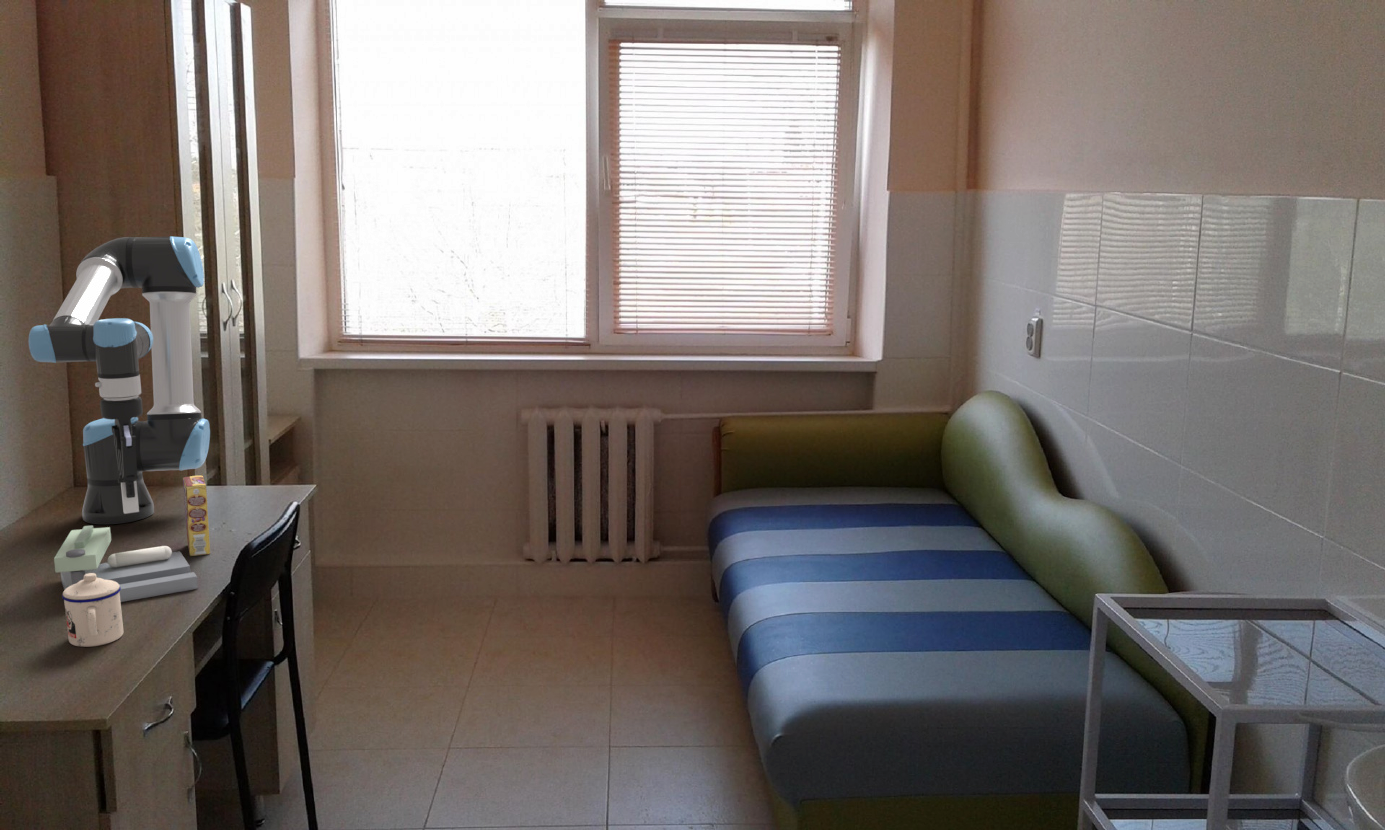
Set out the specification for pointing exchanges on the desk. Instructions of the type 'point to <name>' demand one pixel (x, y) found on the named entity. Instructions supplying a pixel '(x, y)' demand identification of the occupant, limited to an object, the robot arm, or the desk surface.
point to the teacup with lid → (93, 611)
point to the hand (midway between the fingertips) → (131, 511)
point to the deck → (142, 577)
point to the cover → (83, 549)
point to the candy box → (196, 515)
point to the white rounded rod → (139, 556)
